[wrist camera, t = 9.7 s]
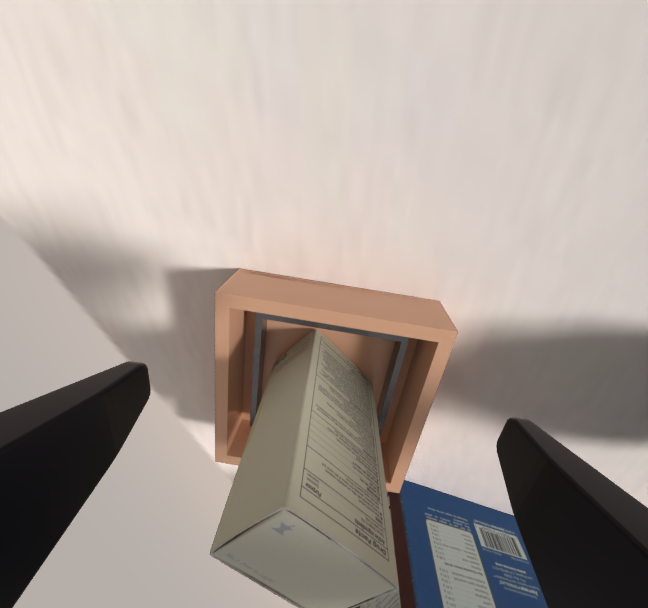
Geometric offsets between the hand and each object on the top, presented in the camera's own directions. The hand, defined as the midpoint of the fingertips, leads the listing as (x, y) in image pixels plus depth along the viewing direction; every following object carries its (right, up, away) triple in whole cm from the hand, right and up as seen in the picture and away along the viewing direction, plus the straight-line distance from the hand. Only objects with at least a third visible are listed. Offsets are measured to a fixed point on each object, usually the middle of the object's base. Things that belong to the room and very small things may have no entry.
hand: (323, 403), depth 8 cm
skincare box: (0, -2, +15) cm, 15 cm away
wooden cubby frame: (0, -2, +15) cm, 16 cm away
